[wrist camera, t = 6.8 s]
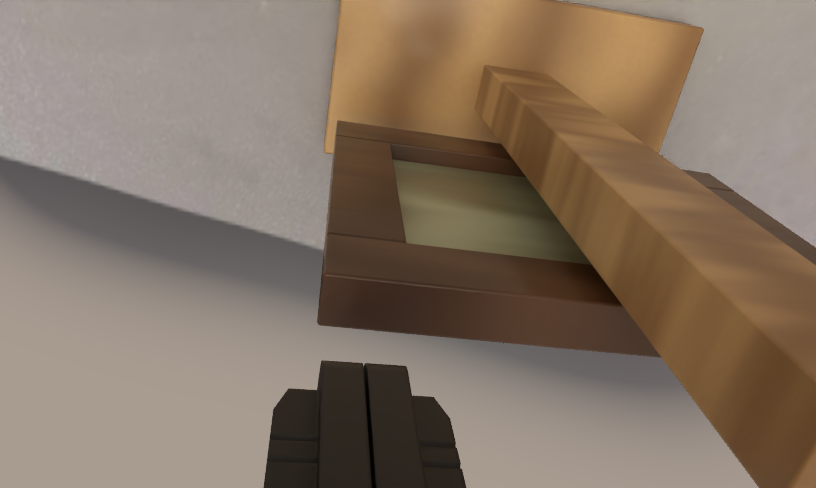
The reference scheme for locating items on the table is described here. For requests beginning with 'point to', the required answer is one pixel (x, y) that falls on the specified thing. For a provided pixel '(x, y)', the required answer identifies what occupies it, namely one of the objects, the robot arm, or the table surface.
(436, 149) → the frame
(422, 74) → the stand
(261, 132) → the table surface
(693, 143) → the table surface
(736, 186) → the table surface
